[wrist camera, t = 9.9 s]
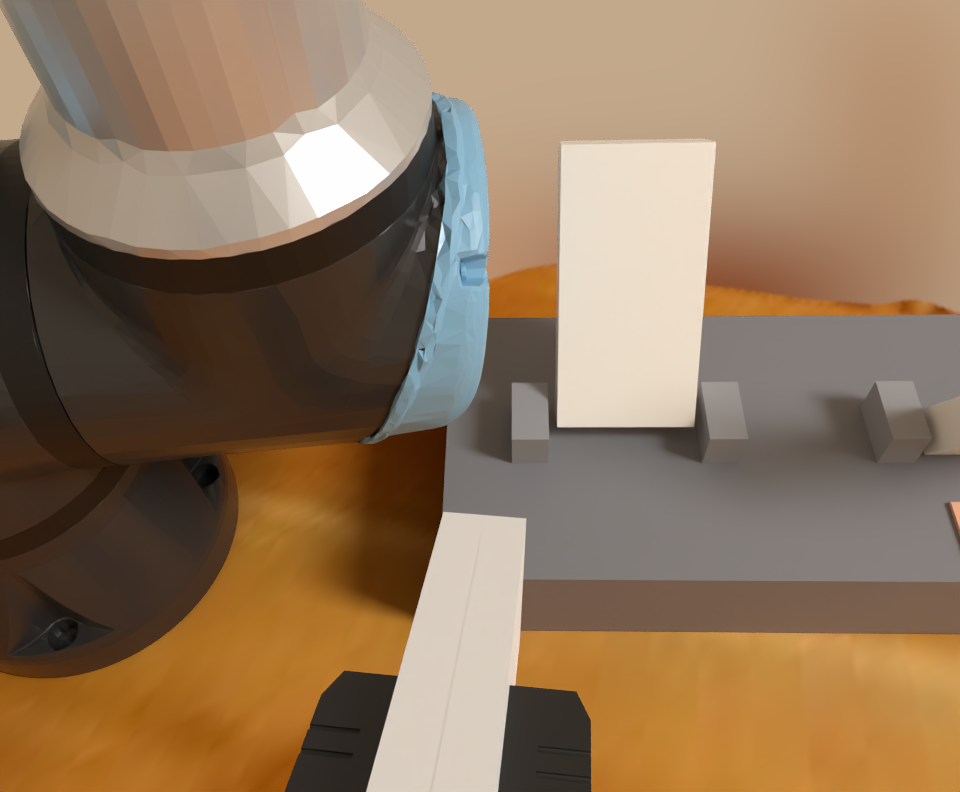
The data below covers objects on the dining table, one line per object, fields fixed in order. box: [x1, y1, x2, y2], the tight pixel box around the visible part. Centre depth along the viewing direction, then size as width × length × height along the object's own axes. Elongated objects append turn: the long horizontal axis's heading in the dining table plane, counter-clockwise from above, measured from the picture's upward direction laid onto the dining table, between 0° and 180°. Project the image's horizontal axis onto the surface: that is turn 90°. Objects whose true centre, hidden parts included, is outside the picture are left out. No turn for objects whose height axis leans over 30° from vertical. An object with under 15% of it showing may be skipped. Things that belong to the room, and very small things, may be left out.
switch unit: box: [442, 315, 960, 634], centre depth 40 cm, size 14×32×8 cm, turn 89°
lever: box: [555, 139, 716, 427], centre depth 36 cm, size 2×6×12 cm
